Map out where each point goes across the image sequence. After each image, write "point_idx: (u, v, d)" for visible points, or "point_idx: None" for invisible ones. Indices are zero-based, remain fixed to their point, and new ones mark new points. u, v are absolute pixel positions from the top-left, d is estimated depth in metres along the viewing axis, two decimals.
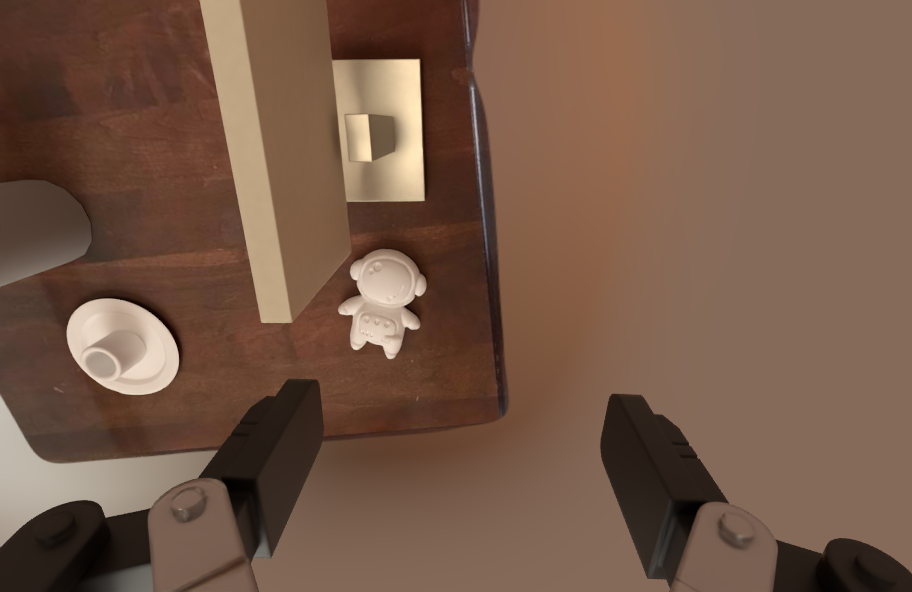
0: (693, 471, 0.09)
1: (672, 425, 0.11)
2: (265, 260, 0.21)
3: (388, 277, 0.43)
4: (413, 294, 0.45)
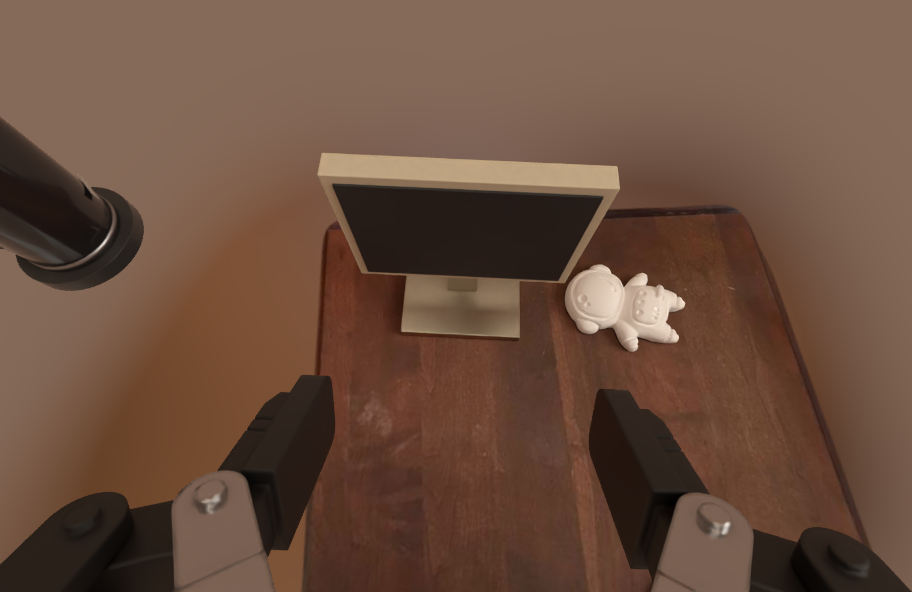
0: (676, 464, 0.10)
1: (657, 419, 0.11)
2: (559, 174, 0.25)
3: (592, 288, 0.44)
4: (608, 272, 0.46)
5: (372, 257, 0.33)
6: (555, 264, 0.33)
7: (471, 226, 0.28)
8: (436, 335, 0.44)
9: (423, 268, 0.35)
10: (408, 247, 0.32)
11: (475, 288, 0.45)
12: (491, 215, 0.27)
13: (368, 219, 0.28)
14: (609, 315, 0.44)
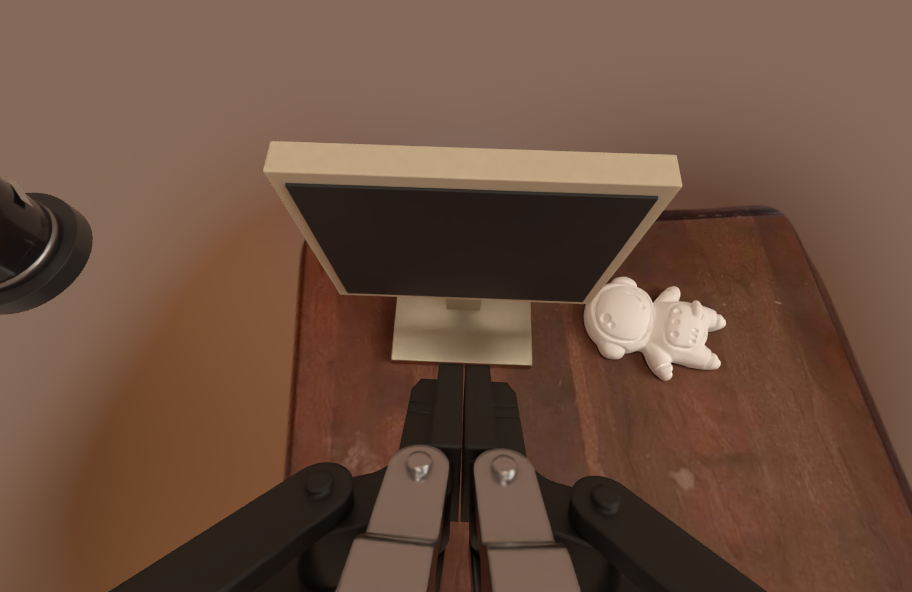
0: (508, 427, 0.10)
1: (511, 391, 0.12)
2: (598, 166, 0.18)
3: (617, 305, 0.37)
4: (635, 286, 0.39)
5: (350, 276, 0.27)
6: (581, 283, 0.26)
7: (475, 238, 0.22)
8: (433, 363, 0.38)
9: (415, 288, 0.28)
10: (395, 264, 0.25)
11: (478, 307, 0.38)
12: (503, 223, 0.20)
13: (340, 230, 0.21)
14: (638, 337, 0.37)
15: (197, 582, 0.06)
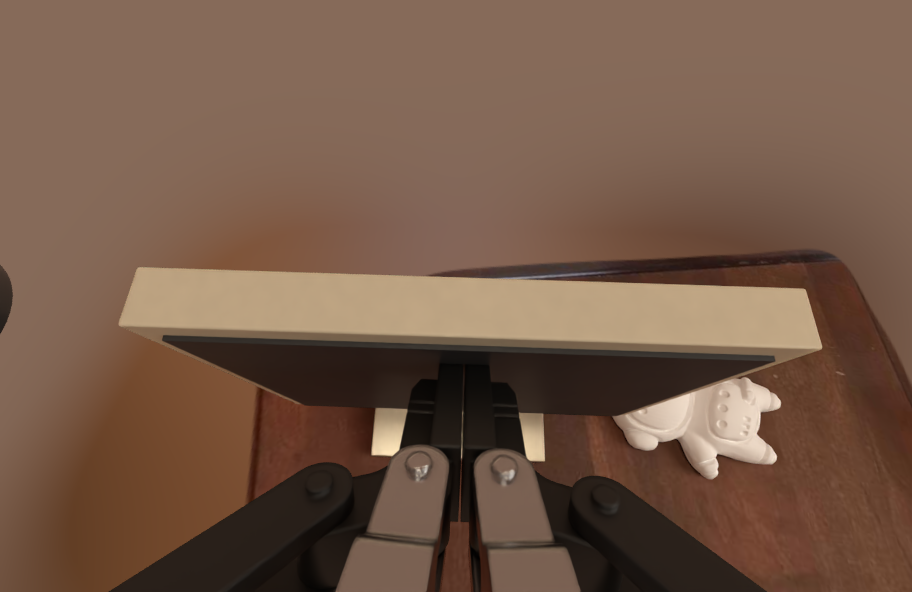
0: (508, 428, 0.10)
1: (511, 391, 0.12)
2: (678, 313, 0.11)
3: None
4: None
5: (304, 397, 0.19)
6: (620, 407, 0.19)
7: None
8: None
9: (394, 405, 0.21)
10: (361, 392, 0.18)
11: None
12: (517, 372, 0.13)
13: (271, 371, 0.14)
14: None
15: (197, 583, 0.06)
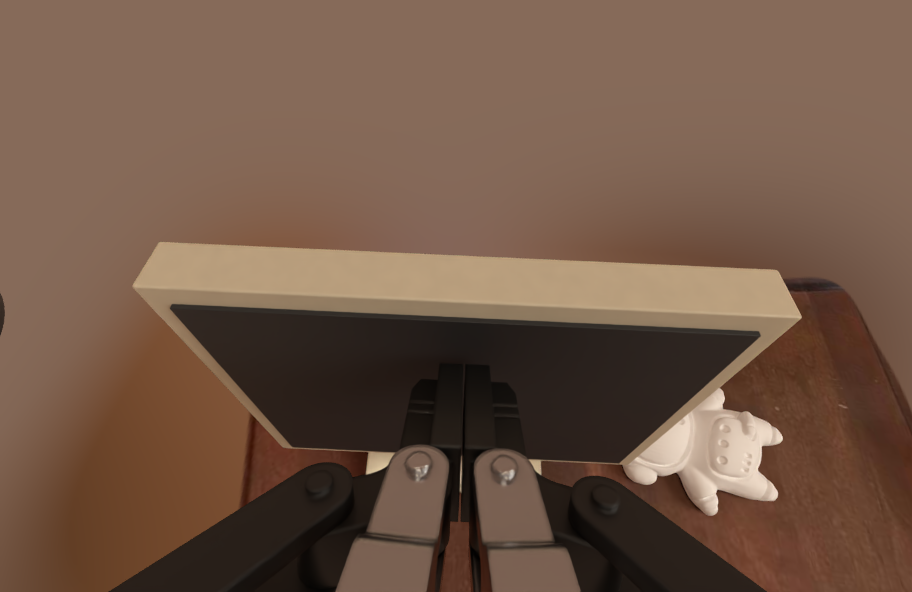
0: (508, 428, 0.10)
1: (510, 391, 0.12)
2: (662, 286, 0.11)
3: None
4: None
5: (293, 428, 0.19)
6: (621, 442, 0.18)
7: None
8: None
9: (386, 444, 0.20)
10: (354, 415, 0.17)
11: None
12: (513, 366, 0.13)
13: (267, 371, 0.14)
14: (674, 461, 0.30)
15: (197, 582, 0.06)
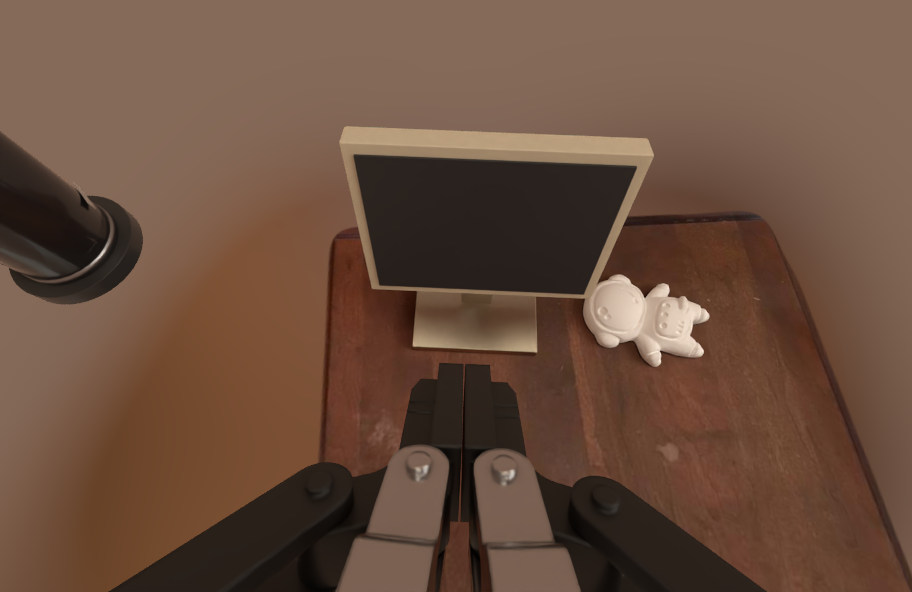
0: (508, 428, 0.10)
1: (511, 391, 0.12)
2: (590, 143, 0.24)
3: (612, 300, 0.42)
4: (629, 283, 0.44)
5: (386, 263, 0.31)
6: (582, 268, 0.31)
7: (495, 213, 0.27)
8: (449, 350, 0.42)
9: (439, 278, 0.32)
10: (426, 246, 0.30)
11: (490, 300, 0.43)
12: (518, 195, 0.26)
13: (387, 205, 0.27)
14: (631, 328, 0.42)
15: (197, 582, 0.06)
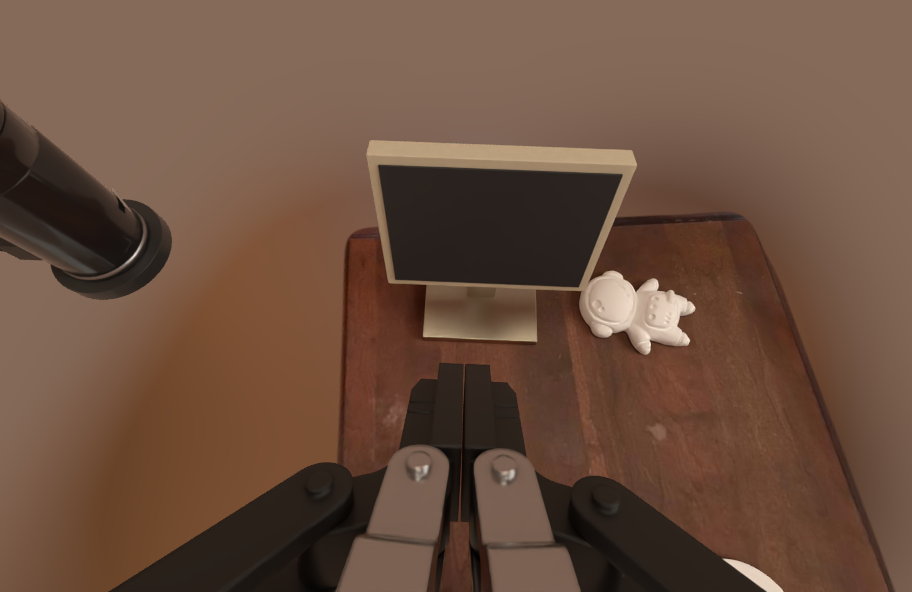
0: (508, 428, 0.10)
1: (510, 391, 0.12)
2: (582, 155, 0.28)
3: (606, 293, 0.46)
4: (621, 278, 0.48)
5: (402, 259, 0.35)
6: (576, 264, 0.35)
7: (499, 215, 0.31)
8: (456, 340, 0.46)
9: (449, 273, 0.36)
10: (438, 244, 0.33)
11: (493, 294, 0.47)
12: (520, 199, 0.30)
13: (405, 208, 0.31)
14: (622, 319, 0.46)
15: (197, 582, 0.06)
